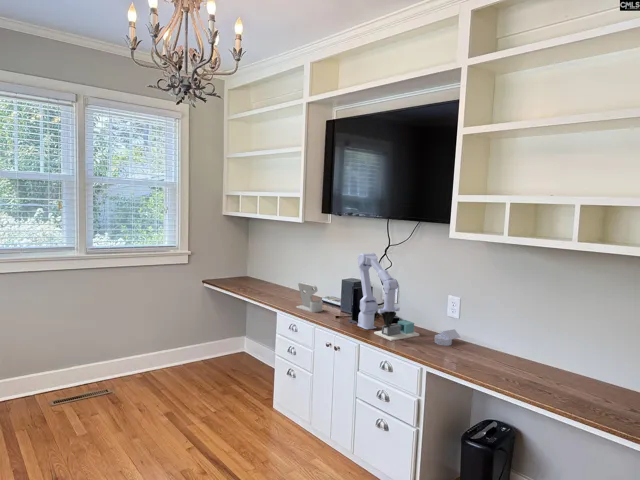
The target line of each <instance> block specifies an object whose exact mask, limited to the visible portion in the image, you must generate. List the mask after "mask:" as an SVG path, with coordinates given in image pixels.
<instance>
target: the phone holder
mask: <svg viewBox="0 0 640 480" xmlns="http://www.w3.org/2000/svg"><path fill="white" fill-rule="evenodd" d="M297 285H298V286H297V287H298V290H299V293H300V298H301V303H302V304H300V305H296V306H295V307H296V308H297V309H300V310H303V311H306V312H309V313H320V312H323V311H324V309H323V305H324V304H323V303H324V301H322V300H313V297H312V296H313V295H315V294H316V293H317V292H318V287H317V286H316V285H315V284H312V283H311V284H310V283H306V282H302V281H300V282H298V283H297ZM304 291H305V292H304Z"/></svg>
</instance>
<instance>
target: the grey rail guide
mask: <svg viewBox="0 0 640 480" xmlns="http://www.w3.org/2000/svg"><path fill="white" fill-rule="evenodd" d="M384 327H386V325H384V324H383V325H382V326H381V331H382V334H383V335H386V336H392V335H397V334H401V325H398V323H392V324H391V325H390V326H389V327H386V328H387V334H386V333H383V330H384Z"/></svg>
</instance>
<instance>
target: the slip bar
mask: <svg viewBox="0 0 640 480" xmlns="http://www.w3.org/2000/svg"><path fill="white" fill-rule="evenodd" d="M389 326H390V321H388V325H386V327H389ZM386 327H384V330H383V333H386V334H387V328H386Z"/></svg>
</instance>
